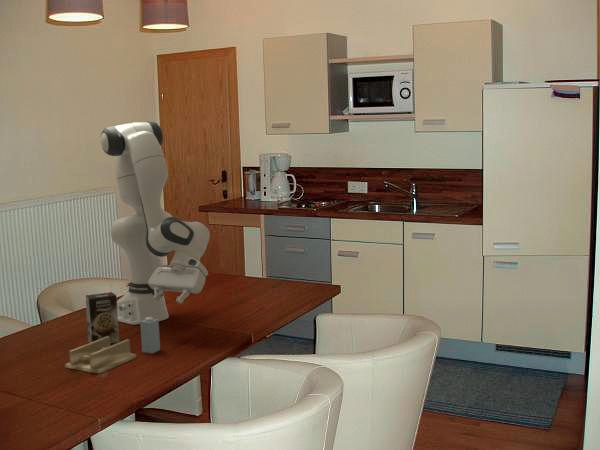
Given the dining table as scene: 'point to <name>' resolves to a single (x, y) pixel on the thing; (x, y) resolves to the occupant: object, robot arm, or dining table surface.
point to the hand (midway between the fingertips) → (167, 301)
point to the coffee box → (102, 317)
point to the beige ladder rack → (100, 355)
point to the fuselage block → (150, 335)
